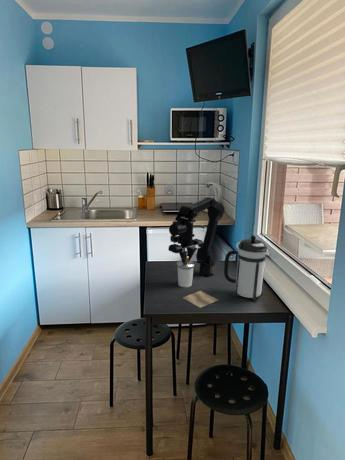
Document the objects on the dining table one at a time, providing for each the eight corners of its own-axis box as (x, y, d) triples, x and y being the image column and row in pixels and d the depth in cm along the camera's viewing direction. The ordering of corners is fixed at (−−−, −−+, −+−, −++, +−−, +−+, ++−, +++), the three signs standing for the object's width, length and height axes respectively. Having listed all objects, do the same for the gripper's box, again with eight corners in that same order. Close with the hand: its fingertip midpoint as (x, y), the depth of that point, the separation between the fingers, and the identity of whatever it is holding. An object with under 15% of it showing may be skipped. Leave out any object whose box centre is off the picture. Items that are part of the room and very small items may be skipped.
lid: (186, 259, 170) (186, 251, 169) (198, 265, 164) (199, 256, 162) (173, 263, 164) (173, 255, 163) (185, 269, 158) (185, 260, 157)
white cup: (191, 289, 163) (192, 270, 160) (175, 287, 164) (176, 268, 161) (193, 282, 170) (194, 264, 167) (178, 281, 172) (179, 263, 169)
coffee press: (255, 287, 167) (260, 229, 159) (269, 302, 151) (276, 239, 143) (222, 289, 164) (226, 230, 156) (233, 304, 148) (238, 240, 140)
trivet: (200, 291, 160) (200, 290, 160) (218, 300, 152) (218, 299, 152) (182, 298, 153) (182, 297, 153) (200, 308, 144) (200, 307, 144)
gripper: (189, 225, 171) (188, 253, 176) (161, 231, 160) (161, 261, 164) (205, 230, 163) (203, 259, 167) (176, 236, 151) (175, 268, 156)
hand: (185, 262), depth 164 cm, fingers closed on lid, 3 cm apart
